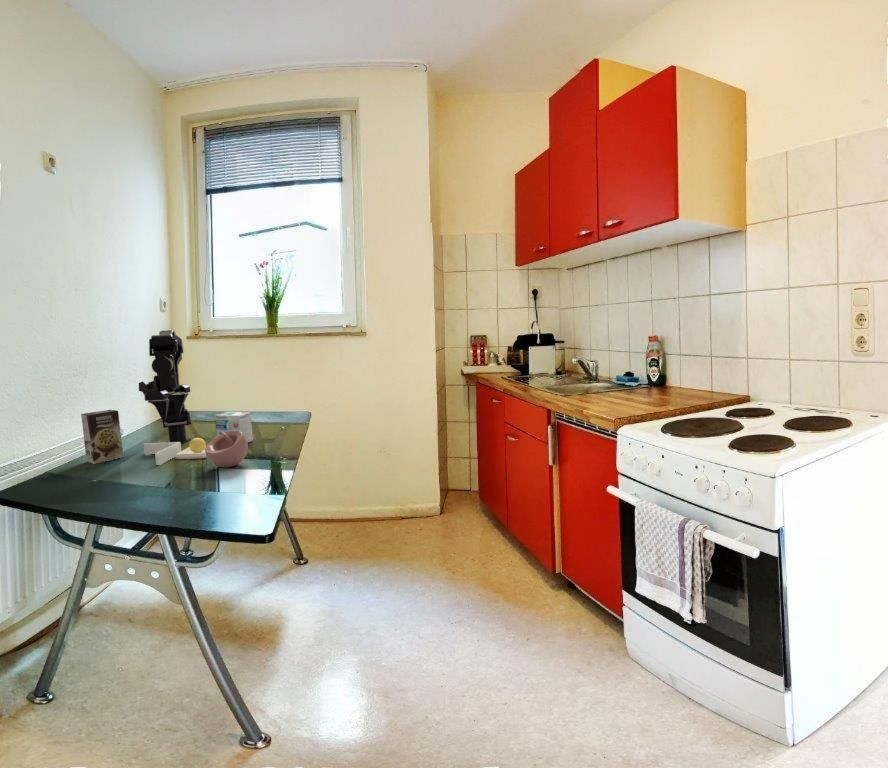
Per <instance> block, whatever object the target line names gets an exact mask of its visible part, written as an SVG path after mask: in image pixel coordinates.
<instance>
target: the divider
mask: <svg viewBox="0 0 888 768" xmlns="http://www.w3.org/2000/svg"><path fill="white" fill-rule="evenodd" d="M142 445H143V452H144V455H145V454H155V455H154V456H155V465H159V466H161V465H163V464H164V463H166V462H169V461H171V460H173V459H174V458H175V454H177V453H179V452H181V451H182V443H180V442H168V441H166V442H145V443H143V444H142ZM172 458H173V459H172ZM170 459H171V460H170ZM168 460H169V461H168Z"/></svg>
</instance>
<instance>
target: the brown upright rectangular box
mask: <svg viewBox="0 0 888 768" xmlns="http://www.w3.org/2000/svg"><path fill="white" fill-rule="evenodd" d="M80 416H81V424H82V433H83V441H84V442H83V443H84V450H85V459H86V462H87V463H90V464H93V465H96V464H100V463H105V461H106V462H109V461H113V460H114V459H115V460H118V458H120V459H122V458H121V457H124V451H123V450H124V449H123V442H122V432H121V424H120V415H119V410H115V409H107V410H101V411H100V410H99V411H93V412H86V413H81V414H80Z"/></svg>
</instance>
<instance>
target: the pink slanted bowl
mask: <svg viewBox="0 0 888 768" xmlns="http://www.w3.org/2000/svg"><path fill="white" fill-rule="evenodd" d="M219 434H221V435H219V436H217V435H216V436H215V438H213V439H212V440H211V441H210V442H208V443H207V444H206V446H207V447H206V449H205V453H206V456H207V458H206V459H208V460H209V462H210V463H211V464H213V465H214V466H216V467H220V468H231V467H232V468H233V467H234V466H237V465H239V464H240V463H241V462H242V461H243V460H244V459H245V458H246V456H247V453H248V449H249V442H248V443H247V439H246V437H245V436H244V435H243V433H242V432H240V431H239V430H238V431H237V430H233V431H228V432H225V433H224V432H222V431H219Z"/></svg>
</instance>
